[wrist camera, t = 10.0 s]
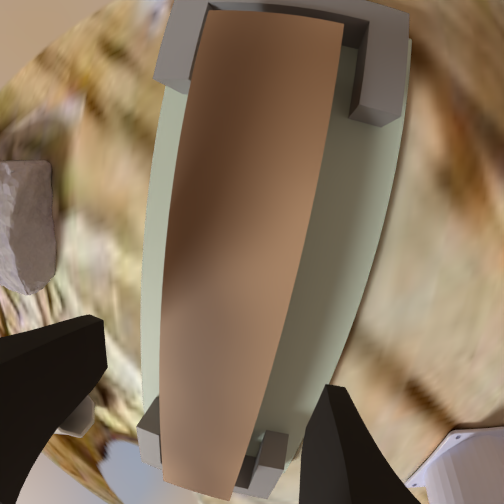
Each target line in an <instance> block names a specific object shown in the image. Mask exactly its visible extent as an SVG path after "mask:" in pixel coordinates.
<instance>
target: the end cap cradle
mask: <svg viewBox="0 0 504 504" xmlns="http://www.w3.org/2000/svg"><path fill="white" fill-rule="evenodd" d="M209 10H237V11H258V12H270V13H281V14H289V15H297V16H304V17H311V18H317V19H322V20H328V21H333V22H338V23H342V24H344V29H343V36H342V44H341V51H340V58H339V64H338V71H337V77H336V84H335V90H334V96H333V102H332V108H331V114H330V119H329V125H328V130H327V136H326V141H325V147H324V152H323V157H322V162H321V167H320V172H319V177H318V182H317V187H316V192H315V196H314V201H313V206H312V210H311V215H310V219H309V224H308V228H307V233H306V237H305V242H304V246H303V250H302V254H301V259H300V263H299V267H298V271H297V275H296V279H295V283H294V287H293V291H292V295H291V299H290V303H289V307H288V311H287V315H286V319H285V322H284V326H283V330H282V334H281V337H280V341H279V345H278V348H277V352H276V355H275V359H274V362H273V366H272V369H271V373H270V376H269V380H268V383H267V387H266V390H265V393H264V397H263V400H262V403H261V407H260V410H259V413H258V416H257V420H256V423H255V426H254V429H253V432H252V435H251V439H250V442H249V445H248V448H247V451H246V454H245V457H244V460H243V463H242V466H241V469H240V472H239V475H238V478H237V480H236V483H235V486H234V489H233V492H235V493H239V494H244V495H249V496H253V497H258V498H264V499H268V497H269V495H270V494H271V492H272V490H273V489H274V487H275V485H276V483H277V482H278V480H279V478H280V476H281V474H282V473H285V471H286V470H287V468H288V466H289V464H290V462H291V461H292V459H293V457H294V455H295V453H296V451H297V449H298V447H299V446H300V444H301V442H302V440H303V438H304V435H305V429H306V426H307V424H308V422H309V420H310V418H311V415H312V413H313V411H314V409H315V407H316V404H317V402H318V400H319V398H320V395H321V393H322V391H323V389H324V386H325V384H329V382H330V380H331V377H332V375H333V373H334V370H335V368H336V365H337V363H338V361H339V358H340V356H341V353H342V350H343V348H344V345H345V343H346V340H347V337H348V335H349V332H350V329H351V327H352V324H353V321H354V318H355V316H356V313H357V310H358V307H359V304H360V301H361V298H362V295H363V292H364V289H365V286H366V283H367V279H368V276H369V273H370V270H371V266H372V263H373V260H374V256H375V253H376V249H377V246H378V242H379V238H380V235H381V231H382V227H383V223H384V219H385V215H386V211H387V207H388V202H389V198H390V194H391V189H392V185H393V180H394V175H395V170H396V165H397V160H398V154H399V149H400V143H401V137H402V130H403V124H404V117H405V110H406V102H407V93H408V84H409V73H410V61H411V45H412V39H409V13H406V12H403V11H400V10H397V9H394V8H391V7H388V6H384V5H381V4H377V3H374V2H370V1H366V0H175V1H174V4H173V7H172V10H171V13H170V16H169V19H168V23H167V26H166V29H165V33H164V36H163V40H162V44H161V47H160V51H159V55H158V59H157V63H156V67H155V71H154V76H153V79H154V80H156V81H158V82H160V83H162V84H164V85H166V87H165V92H164V97H163V102H162V107H161V112H160V117H159V123H158V128H157V134H156V140H155V147H154V153H153V160H152V167H151V174H150V182H149V190H148V199H147V209H146V219H145V231H144V244H143V260H142V280H141V370H142V390H143V405H144V416H143V417H142V419H141V420H140V422H139V423H138V425H137V426H136V428H137V435H138V442H139V449H140V455H141V461H142V462H143V463H146V464H148V465H150V466H153V467H155V468H158V469H161V470H163V468H162V454H161V435H160V405H159V351H160V320H161V300H162V284H163V270H164V258H165V247H166V237H167V227H168V218H169V209H170V201H171V193H172V186H173V179H174V172H175V165H176V159H177V152H178V146H179V140H180V135H181V129H182V123H183V118H184V113H185V108H186V102H187V98H188V93H189V88H190V83H191V79H192V74H193V70H194V65H195V61H196V57H197V53H198V49H199V45H200V41H201V37H202V33H203V29H204V26H205V22H206V18H207V15H208V11H209Z"/></svg>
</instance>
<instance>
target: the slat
mask: <svg viewBox="0 0 504 504" xmlns="http://www.w3.org/2000/svg"><path fill="white" fill-rule="evenodd" d="M343 29H344V24H342V23H338V22H333V21H328V20H322V19H317V18H311V17H304V16H297V15H289V14H281V13H270V12H258V11H237V10H209V11H208V15H207V18H206V22H205V26H204V29H203V33H202V37H201V41H200V45H199V49H198V53H197V57H196V61H195V65H194V70H193V74H192V79H191V83H190V88H189V93H188V98H187V102H186V108H185V113H184V118H183V123H182V129H181V135H180V140H179V146H178V152H177V159H176V165H175V172H174V179H173V186H172V193H171V201H170V209H169V218H168V227H167V237H166V247H165V258H164V270H163V284H162V300H161V320H160V351H159V405H160V435H161V454H162V468H163V480H164V481H166V482H168V483H171V484H174V485H177V486H180V487H182V488H185V489H188V490H191V491H195V492H198V493H201V494H205V495H208V496H212V497H215V498H219V499H223V500H227V501H229V500H230V497H231V495H232V492H233V489H234V486H235V483H236V480H237V478H238V475H239V472H240V469H241V466H242V463H243V460H244V457H245V454H246V451H247V448H248V445H249V442H250V439H251V435H252V432H253V429H254V426H255V423H256V420H257V416H258V413H259V410H260V407H261V403H262V400H263V397H264V393H265V390H266V387H267V383H268V380H269V376H270V373H271V369H272V366H273V362H274V359H275V355H276V352H277V348H278V345H279V341H280V337H281V334H282V330H283V326H284V322H285V319H286V315H287V311H288V307H289V303H290V299H291V295H292V291H293V287H294V283H295V279H296V275H297V271H298V267H299V263H300V259H301V254H302V250H303V246H304V242H305V237H306V233H307V228H308V224H309V219H310V215H311V210H312V206H313V201H314V196H315V192H316V187H317V182H318V177H319V172H320V167H321V162H322V157H323V152H324V147H325V141H326V136H327V130H328V125H329V119H330V114H331V108H332V102H333V96H334V90H335V84H336V77H337V71H338V64H339V58H340V51H341V44H342V36H343Z"/></svg>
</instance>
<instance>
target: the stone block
mask: <svg viewBox="0 0 504 504" xmlns="http://www.w3.org/2000/svg"><path fill="white" fill-rule="evenodd" d="M51 175H52V167H51V164H50V163H49V162H48V161H46V160H11V161H0V285H1V286H5V287H6V288H8V289H9V290H12V291H16V292H17V293H21V294H24V295H31V294H33V293H36V292H38V291H39V290H41V289H43V287H44V286H45V285H46V284H47V283H48V282H49V281H50V279H51V278H52V277H53V276H54V275H55V259H56V240H55V233H54V223H53V219H52V197H53V193H52V188H51Z"/></svg>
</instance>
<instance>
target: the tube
mask: <svg viewBox="0 0 504 504" xmlns="http://www.w3.org/2000/svg"><path fill="white" fill-rule="evenodd" d="M94 410H95V403H94V401H93V400H92V399H91V398H90V396H89V395H87V396H86V398H85V399H84V400H83V401H82V402H81V403H80V404H79V405H78V406H77V408H76V409H75V410H74V411H73V412H72V413H71V414H70V415H69V416H68V417H67V419H66V420H65V421H64V422H63V423H62V424H61V425H60V426H59V427H58V429H57V430H56V431H55V432H54V434H67V435H71V436H75V437H79V438H82V437H83V436H84V434H85V433H86V432H87V431H88V430H89V428H90V427H91V426H92V425H93V423H94Z"/></svg>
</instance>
